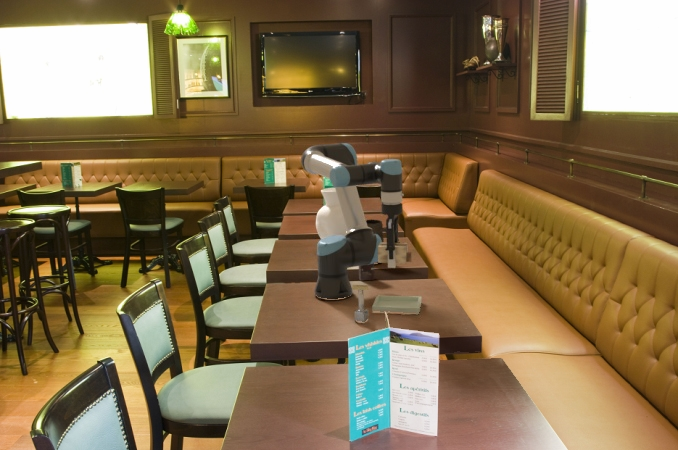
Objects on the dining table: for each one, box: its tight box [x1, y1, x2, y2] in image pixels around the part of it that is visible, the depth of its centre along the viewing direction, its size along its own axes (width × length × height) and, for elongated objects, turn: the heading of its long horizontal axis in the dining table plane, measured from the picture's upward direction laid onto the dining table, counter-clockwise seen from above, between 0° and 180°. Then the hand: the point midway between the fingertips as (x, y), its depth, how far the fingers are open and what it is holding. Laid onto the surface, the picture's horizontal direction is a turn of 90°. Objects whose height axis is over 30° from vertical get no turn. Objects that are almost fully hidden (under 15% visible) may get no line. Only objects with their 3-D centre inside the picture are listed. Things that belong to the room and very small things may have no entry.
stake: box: [351, 284, 370, 322], centre depth 224 cm, size 6×4×13 cm
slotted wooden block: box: [378, 241, 412, 264], centre depth 233 cm, size 12×6×6 cm, turn 77°
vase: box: [315, 187, 347, 240], centre depth 332 cm, size 19×21×30 cm
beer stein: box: [366, 219, 387, 263], centre depth 298 cm, size 15×11×20 cm
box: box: [358, 263, 375, 282], centre depth 273 cm, size 6×4×12 cm
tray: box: [371, 294, 423, 315], centre depth 238 cm, size 17×13×3 cm
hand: (393, 264), depth 234 cm, fingers closed on slotted wooden block, 6 cm apart
